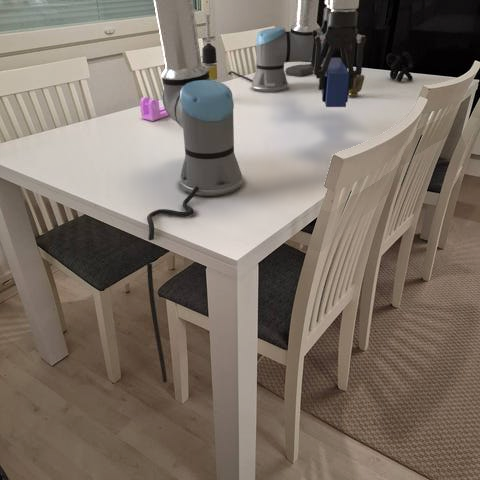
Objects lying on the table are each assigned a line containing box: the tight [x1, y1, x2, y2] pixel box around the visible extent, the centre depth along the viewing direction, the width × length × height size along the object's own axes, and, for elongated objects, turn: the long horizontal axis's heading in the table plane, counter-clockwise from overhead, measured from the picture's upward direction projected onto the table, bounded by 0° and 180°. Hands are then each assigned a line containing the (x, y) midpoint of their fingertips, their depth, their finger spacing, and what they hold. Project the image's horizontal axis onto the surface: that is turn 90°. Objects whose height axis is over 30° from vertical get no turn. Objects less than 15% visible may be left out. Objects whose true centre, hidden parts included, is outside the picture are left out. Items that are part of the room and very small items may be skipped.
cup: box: [348, 74, 365, 98], centre depth 176 cm, size 8×7×8 cm
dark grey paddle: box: [284, 63, 322, 77], centre depth 219 cm, size 3×11×24 cm
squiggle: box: [385, 51, 414, 83], centre depth 198 cm, size 11×10×15 cm
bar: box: [320, 57, 349, 108], centre depth 132 cm, size 23×6×9 cm, turn 175°
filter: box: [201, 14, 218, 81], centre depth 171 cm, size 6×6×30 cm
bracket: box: [139, 96, 170, 122], centre depth 158 cm, size 13×6×7 cm, turn 143°
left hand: (334, 100), depth 128 cm, fingers closed on bar, 5 cm apart
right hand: (330, 88), depth 140 cm, fingers closed on bar, 5 cm apart
